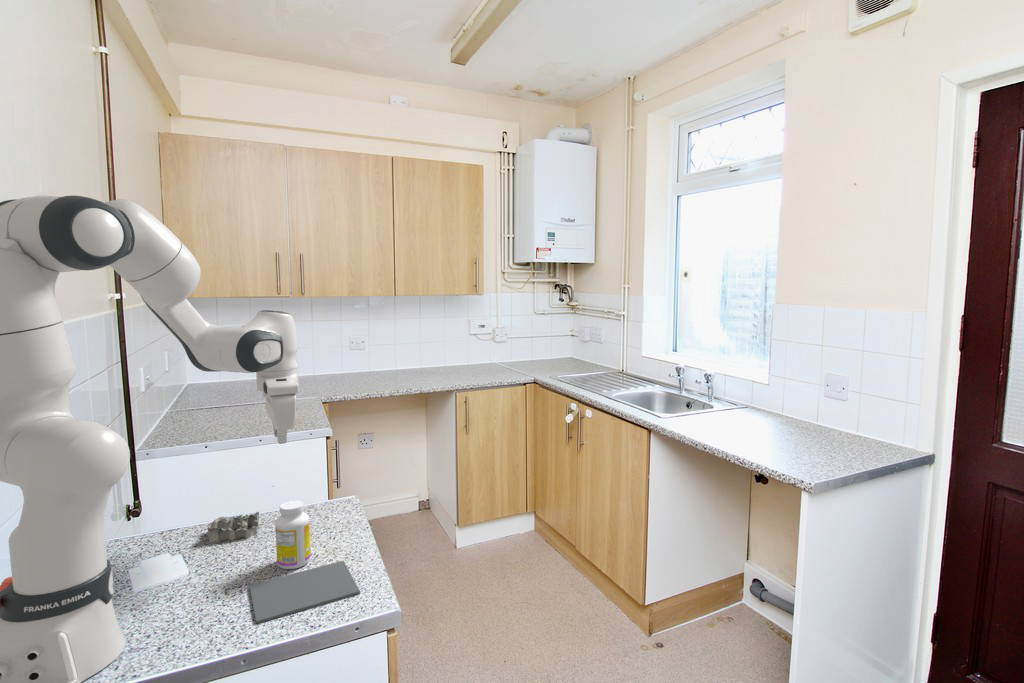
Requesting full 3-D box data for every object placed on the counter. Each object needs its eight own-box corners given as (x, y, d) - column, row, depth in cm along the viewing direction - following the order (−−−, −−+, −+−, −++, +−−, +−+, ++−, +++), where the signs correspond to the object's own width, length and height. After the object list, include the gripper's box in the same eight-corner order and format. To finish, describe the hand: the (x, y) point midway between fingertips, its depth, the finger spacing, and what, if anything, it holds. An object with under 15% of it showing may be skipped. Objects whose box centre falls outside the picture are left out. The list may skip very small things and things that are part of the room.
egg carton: (205, 545, 119) (204, 528, 119) (213, 530, 127) (212, 514, 126) (256, 538, 123) (255, 522, 122) (261, 524, 130) (260, 508, 129)
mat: (256, 624, 91) (256, 621, 91) (249, 587, 102) (249, 584, 102) (359, 593, 101) (359, 591, 101) (343, 562, 112) (343, 560, 112)
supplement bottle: (303, 551, 116) (301, 495, 115) (316, 562, 112) (314, 504, 110) (272, 562, 112) (269, 504, 110) (284, 574, 107) (281, 514, 106)
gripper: (257, 375, 127) (260, 430, 129) (268, 389, 110) (270, 453, 111) (285, 373, 131) (287, 427, 132) (300, 386, 113) (302, 449, 115)
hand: (280, 439), depth 122 cm, fingers open, 5 cm apart
